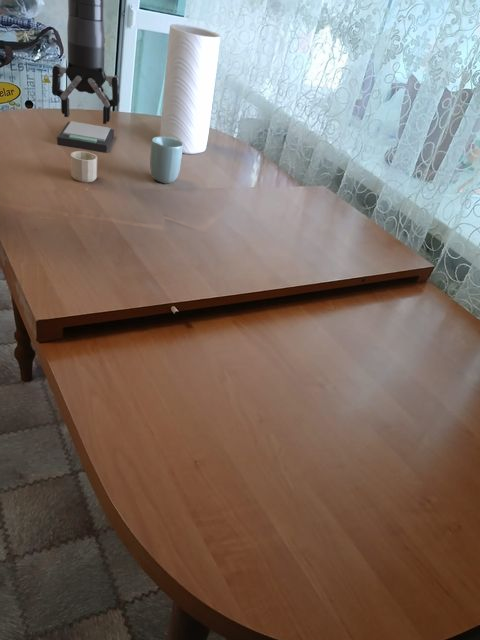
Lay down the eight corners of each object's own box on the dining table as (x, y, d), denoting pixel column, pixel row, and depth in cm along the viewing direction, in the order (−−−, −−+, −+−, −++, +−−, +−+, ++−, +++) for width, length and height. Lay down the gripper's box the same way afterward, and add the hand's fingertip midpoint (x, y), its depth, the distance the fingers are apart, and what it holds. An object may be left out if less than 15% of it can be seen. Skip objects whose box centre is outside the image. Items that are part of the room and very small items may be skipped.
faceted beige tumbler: (68, 180, 131) (68, 157, 127) (73, 171, 135) (73, 149, 132) (94, 184, 132) (95, 162, 128) (98, 175, 137) (98, 153, 133)
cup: (170, 188, 139) (174, 149, 133) (143, 179, 140) (146, 140, 134) (183, 180, 145) (188, 142, 139) (157, 172, 146) (160, 134, 140)
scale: (57, 144, 148) (57, 134, 146) (68, 128, 160) (68, 119, 158) (106, 152, 150) (106, 143, 149) (113, 136, 162) (114, 127, 160)
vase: (215, 152, 169) (232, 38, 150) (181, 157, 159) (194, 36, 140) (184, 136, 175) (196, 25, 156) (149, 140, 165) (157, 22, 147)
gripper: (47, 37, 112) (50, 118, 121) (118, 51, 114) (115, 130, 124) (55, 31, 118) (57, 110, 127) (122, 45, 120) (120, 120, 130)
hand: (86, 119), depth 125 cm, fingers open, 8 cm apart
